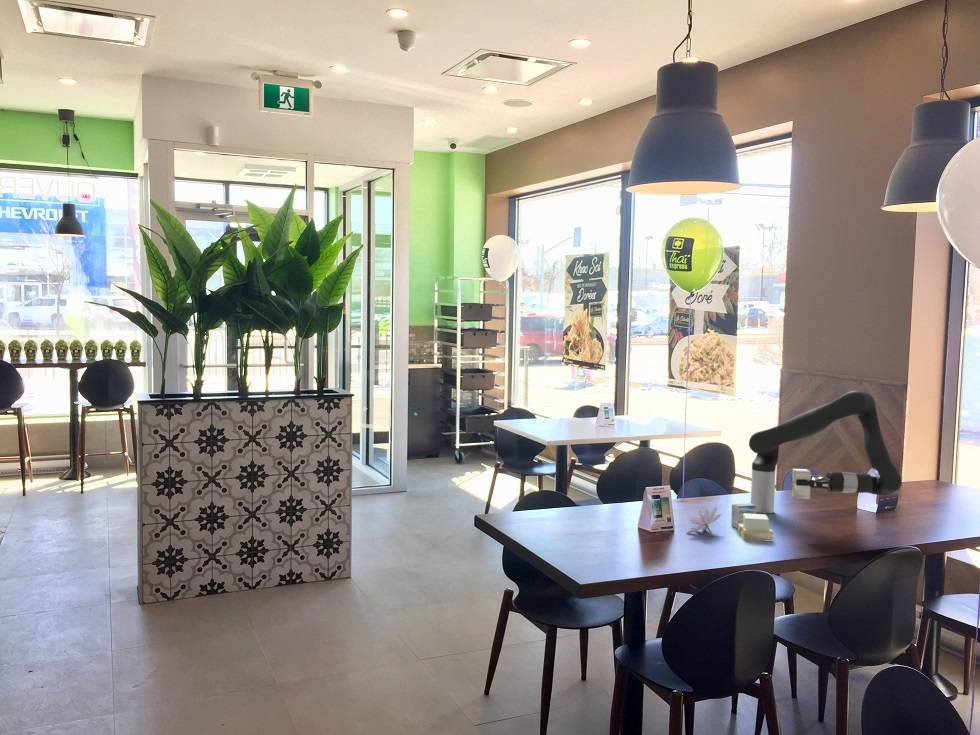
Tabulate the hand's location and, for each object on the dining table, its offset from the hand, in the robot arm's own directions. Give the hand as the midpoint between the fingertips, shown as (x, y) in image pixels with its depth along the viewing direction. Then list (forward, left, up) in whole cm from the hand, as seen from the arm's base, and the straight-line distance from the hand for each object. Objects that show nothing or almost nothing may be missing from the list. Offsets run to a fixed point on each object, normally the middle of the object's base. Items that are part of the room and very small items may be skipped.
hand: (794, 480), depth 305 cm
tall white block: (0, +3, -6) cm, 7 cm away
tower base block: (+5, -14, -21) cm, 26 cm away
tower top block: (+5, -14, -17) cm, 22 cm away
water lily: (+2, -32, -21) cm, 38 cm away
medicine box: (-10, -15, -20) cm, 27 cm away
